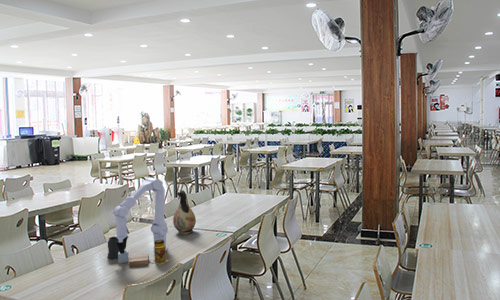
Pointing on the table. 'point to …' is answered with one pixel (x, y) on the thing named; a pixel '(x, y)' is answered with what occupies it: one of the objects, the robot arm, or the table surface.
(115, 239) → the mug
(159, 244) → the condiment
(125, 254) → the blue cube
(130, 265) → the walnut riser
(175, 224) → the ceramic jug
